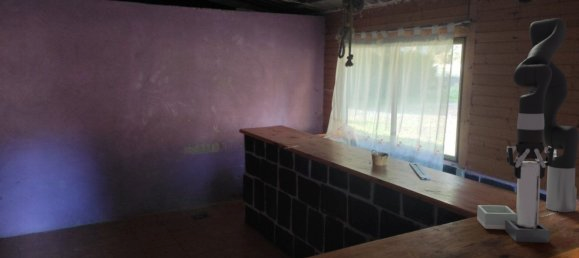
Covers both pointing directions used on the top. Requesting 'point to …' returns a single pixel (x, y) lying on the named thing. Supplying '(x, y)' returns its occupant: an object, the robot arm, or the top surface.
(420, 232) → the top surface
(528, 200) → the air filter
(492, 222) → the white open box
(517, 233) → the socket
